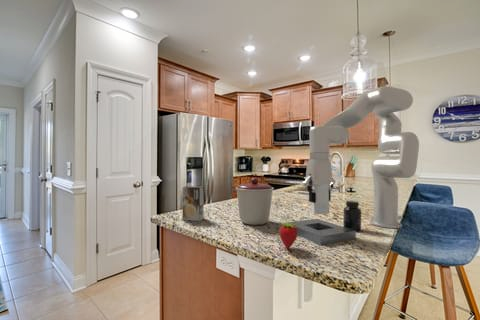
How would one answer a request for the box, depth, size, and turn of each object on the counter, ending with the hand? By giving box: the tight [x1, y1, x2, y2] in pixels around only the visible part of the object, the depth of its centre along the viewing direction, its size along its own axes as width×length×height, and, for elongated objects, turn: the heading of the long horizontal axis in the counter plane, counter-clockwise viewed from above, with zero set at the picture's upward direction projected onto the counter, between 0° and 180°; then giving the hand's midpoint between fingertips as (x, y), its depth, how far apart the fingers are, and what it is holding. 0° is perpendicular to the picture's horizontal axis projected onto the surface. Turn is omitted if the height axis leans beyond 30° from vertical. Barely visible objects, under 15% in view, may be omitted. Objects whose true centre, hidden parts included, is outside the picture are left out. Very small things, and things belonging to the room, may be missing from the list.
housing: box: [286, 218, 357, 246], centre depth 93 cm, size 18×20×3 cm
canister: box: [235, 177, 275, 226], centre depth 110 cm, size 18×18×21 cm
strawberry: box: [278, 219, 298, 250], centre depth 77 cm, size 6×8×10 cm
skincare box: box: [310, 183, 330, 215], centre depth 93 cm, size 6×4×12 cm
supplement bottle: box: [342, 200, 362, 232], centre depth 100 cm, size 7×7×12 cm
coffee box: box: [182, 185, 205, 222], centre depth 115 cm, size 9×6×16 cm
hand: (319, 201), depth 93 cm, fingers closed on skincare box, 7 cm apart
